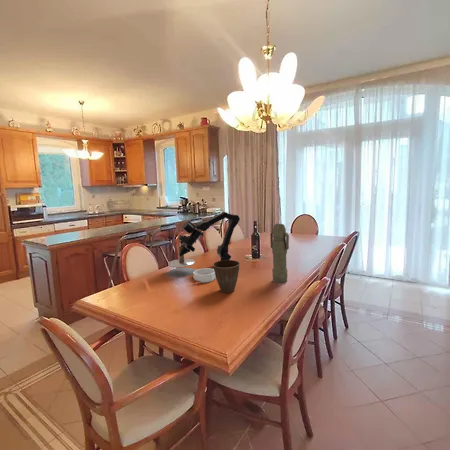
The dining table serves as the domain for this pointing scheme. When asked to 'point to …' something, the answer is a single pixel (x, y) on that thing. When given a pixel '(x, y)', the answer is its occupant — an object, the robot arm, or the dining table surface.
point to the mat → (180, 272)
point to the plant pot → (226, 274)
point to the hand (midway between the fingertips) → (179, 255)
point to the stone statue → (279, 252)
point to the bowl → (204, 278)
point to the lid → (181, 260)
